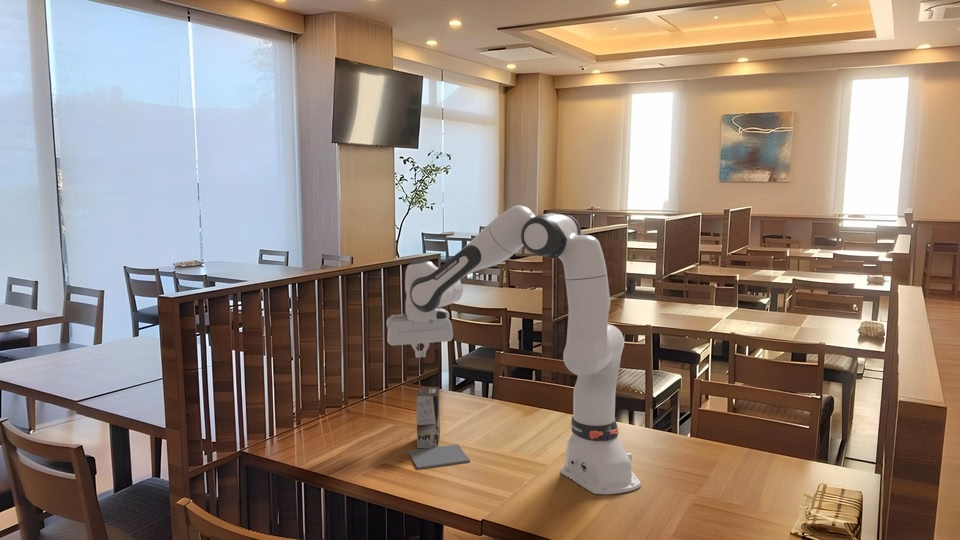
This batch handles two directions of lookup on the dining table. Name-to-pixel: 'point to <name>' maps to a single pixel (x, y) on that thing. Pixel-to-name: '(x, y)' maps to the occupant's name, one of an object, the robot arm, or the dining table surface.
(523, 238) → the robot arm
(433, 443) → the coffee box
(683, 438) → the dining table surface
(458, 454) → the rubber mat
